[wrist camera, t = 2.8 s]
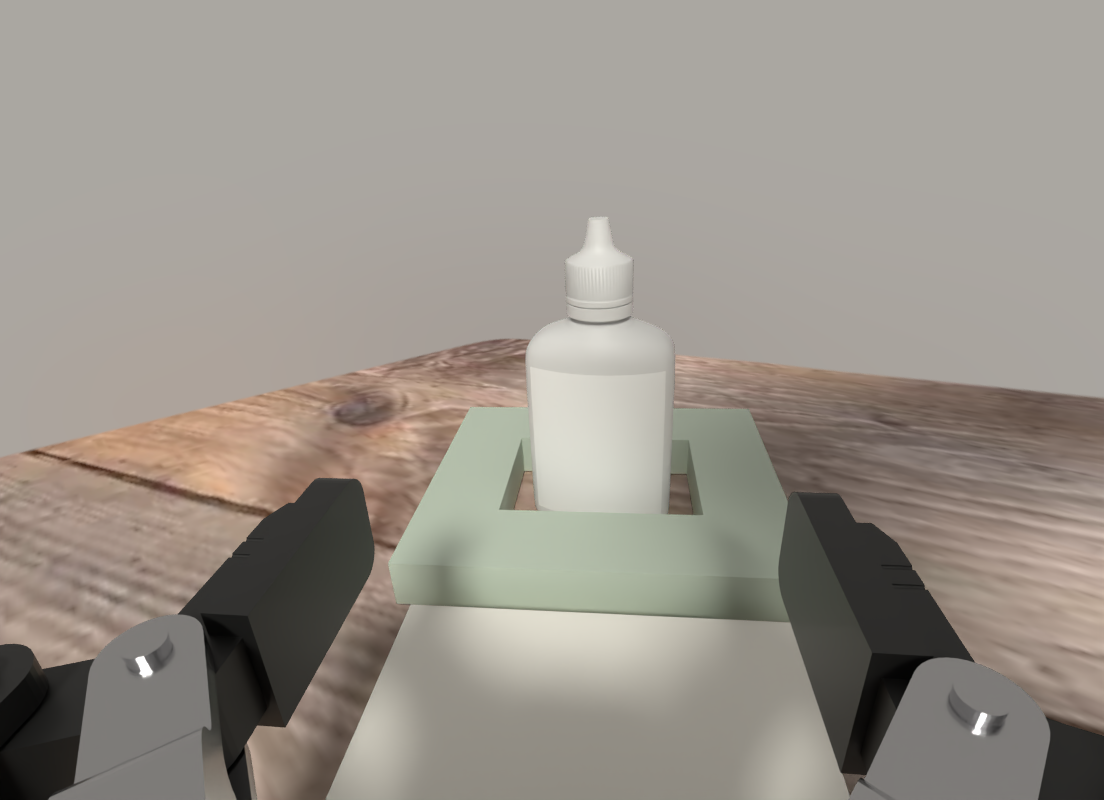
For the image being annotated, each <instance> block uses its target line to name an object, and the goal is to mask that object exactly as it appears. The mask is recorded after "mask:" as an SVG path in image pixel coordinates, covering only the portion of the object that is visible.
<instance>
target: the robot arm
mask: <svg viewBox="0 0 1104 800" xmlns="http://www.w3.org/2000/svg"><path fill="white" fill-rule="evenodd" d="M232 554H233V556H232V558H228V559H227V560H226V561H225V562H224V563H223V565H222V566H221V567H220V568H219V569H218V570H217V571H216V572H215V573H214V575H213V576H212V577H211V578H210V579H209V580H208V581H207V582H206V583H205V585H204V586H203V587H202V588H201V589H200V590H199V591H198V592H197V593H196V595H195V596H194V597H193V598H192V599H191V600H190V601H189V602H188V603H187V605H186V606H185V607H184V608H183V609H182V610H181V611H180V612H179V613H178V615H167V616H162V617H157V618H154V619H151V620H148V621H146V622H143V623H141V624H138V625H136V626H134V627H132V628H130V629H129V630H127V631H125V632H124V633H122V634H121V635H119V636H118V637H116V638H115V639H114V640H112V641H111V642H110V643H109V644H108V645H107V646H106V647H105V648H104V649H103V650H102V651H101V652H100V653H99V654H98V656H97V657H96V658H95V659H92V660H87V661H82V662H76V663H71V664H66V665H61V666H56V667H51V668H46V669H42V668H41V666H40V665H39V663H38V661H37V659H36V657H35V656H34V654H33V652H32V651H31V649H30V648H28V647H27V646H24V645H20V644H4V645H0V800H257V794H256V787H255V780H254V774H253V767H252V760H251V754H250V750H249V747H248V745H247V741H248V739H249V738H250V736H251V734H252V733H253V731H254V729H255V728H256V726H257V725H260V726H273V727H286V725H287V723H288V722H289V720H290V718H291V716H292V714H293V713H294V711H295V709H296V707H297V705H298V704H299V702H300V700H301V698H302V696H303V695H304V693H305V691H306V689H307V687H308V686H309V684H310V682H311V680H312V678H313V677H314V675H315V673H316V671H317V669H318V668H319V666H320V664H321V662H322V660H323V658H324V657H325V655H326V653H327V651H328V649H329V648H330V646H331V644H332V642H333V640H334V639H335V637H336V635H337V633H338V631H339V630H340V628H341V626H342V624H343V622H344V621H345V619H346V617H347V615H348V613H349V612H350V610H351V608H352V606H353V604H354V603H355V601H356V599H357V597H358V595H359V594H360V592H361V590H362V588H363V586H364V585H365V583H366V581H367V579H368V577H369V575H370V573H371V570H372V566H373V561H374V541H373V536H372V531H371V526H370V521H369V516H368V511H367V507H366V502H365V497H364V492H363V488H362V485H361V483H360V482H359V481H358V480H357V479H337V478H317V479H315V480H314V481H313V482H312V483H311V484H310V485H309V487H308V488H307V489H306V490H305V491H304V492H303V494H302V495H301V496H300V497H299V498H298V499H297V501H296V502H295V503H288V504H286V505H284V506H283V507H281V508H280V509H278V510H277V511H275V512H274V513H272V514H270V515H269V516H267V517H266V518H264V519H263V520H262V521H261V522H260V523H259V525H258V526H257V527H256V528H255V529H254V530H253V531H252V532H251V533H250V535H249V536H248V537H247V540H246V542H242V543H241V545H240V546H239V547H238V548H237V549H236V550H235V551H234V552H233V553H232ZM778 577H779V586H780V592H781V596H782V599H783V602H784V605H785V608H786V611H787V614H788V617H789V620H790V623H791V626H792V629H793V632H794V635H795V638H796V641H797V644H798V647H799V650H800V653H801V656H802V659H803V662H804V665H805V668H806V671H807V674H808V677H809V680H810V683H811V686H812V689H813V692H814V695H815V698H816V701H817V704H818V707H819V710H820V713H821V716H822V719H823V722H824V725H825V728H826V731H827V734H828V737H829V740H830V743H831V746H832V749H833V752H834V755H835V758H836V761H837V764H838V767H839V770H840V773H847V774H860V775H866V777H865V779H862V778H860V779H859V781H858V782H857V784H856V785H855V787H854V789H853V791H852V793H851V795H850V797H849V799H848V800H1104V736H1102V735H1098V734H1095V733H1092V732H1089V731H1085V730H1082V729H1079V728H1075V727H1072V726H1069V725H1066V724H1063V723H1060V722H1057V721H1054V720H1051V719H1049V718H1047V717H1045V715H1044V714H1043V712H1042V711H1041V709H1040V708H1039V706H1038V705H1037V704H1036V703H1035V701H1034V700H1033V699H1032V698H1031V697H1030V696H1029V695H1028V694H1027V693H1026V692H1025V691H1024V690H1023V689H1022V688H1020V687H1019V686H1018V685H1016V684H1015V683H1014V682H1012V681H1011V680H1009V679H1008V678H1006V677H1005V676H1003V675H1001V674H1000V673H998V672H996V671H994V670H992V669H990V668H987V667H985V666H983V665H980V664H977V663H975V662H974V660H973V659H972V657H971V656H970V654H969V653H968V651H967V649H966V648H965V646H964V645H963V643H962V642H961V640H960V639H959V637H958V636H957V634H956V633H955V631H954V630H953V628H952V626H951V625H950V623H949V622H948V620H947V619H946V617H945V616H944V614H943V613H942V611H941V610H940V608H939V606H938V605H937V603H936V602H935V600H934V599H933V597H932V596H931V594H930V593H929V591H928V590H925V588H924V583H923V582H922V580H921V579H920V577H919V576H918V574H917V573H916V571H915V570H912V565H911V563H910V562H909V560H908V559H907V557H906V556H905V554H904V553H903V551H902V550H901V548H900V547H899V545H898V544H897V543H896V542H895V541H894V540H893V539H891V538H890V537H889V536H888V535H886V534H885V533H884V532H882V531H881V530H880V529H879V528H877V527H876V526H875V525H873V524H872V523H856V522H855V520H854V518H853V517H852V515H851V513H850V511H849V510H848V508H847V506H846V505H845V503H844V501H843V499H842V498H841V496H840V495H839V494H837V493H804V492H793V493H792V494H791V495H790V497H789V500H788V505H787V512H786V518H785V524H784V531H783V537H782V544H781V550H780V556H779V565H778Z"/></svg>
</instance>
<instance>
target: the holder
mask: <svg viewBox="0 0 1104 800" xmlns="http://www.w3.org/2000/svg"><path fill="white" fill-rule="evenodd" d="M524 471H532V457H531V443H530V428H529V413H528V407H470V409H469V411H468V413H467V415H466V417H465V419H464V420H463V422H462V424H461V426H460V428H459V430H458V432H457V434H456V436H455V438H454V439H453V441H452V443H451V445H450V447H449V449H448V451H447V453H446V455H445V457H444V458H443V460H442V462H441V464H440V466H439V468H438V470H437V472H436V474H435V476H434V477H433V479H432V481H431V483H430V485H429V487H428V489H427V491H426V493H425V494H424V496H423V498H422V500H421V502H420V504H419V506H418V508H417V510H416V512H415V513H414V515H413V517H412V519H411V521H410V523H409V525H408V527H407V529H406V531H405V532H404V534H403V536H402V538H401V540H400V542H399V544H398V546H397V548H396V550H395V551H394V553H393V555H392V557H391V559H390V561H389V563H388V565H389V570H390V575H391V579H392V584H393V589H394V594H395V598H396V603H397V604H414V605H435V606H456V607H477V608H498V609H519V610H540V611H561V612H583V613H604V614H625V615H646V616H667V617H688V618H709V619H730V620H751V621H772V622H790V620H789V617H788V614H787V611H786V608H785V605H784V602H783V599H782V596H781V592H780V586H779V577H778V565H779V556H780V550H781V544H782V537H783V531H784V524H785V518H786V512H787V505H788V501H787V498H786V496H785V493H784V491H783V489H782V486H781V484H780V482H779V479H778V477H777V475H776V472H775V470H774V467H773V465H772V463H771V460H770V458H769V456H768V453H767V451H766V448H765V446H764V444H763V441H762V439H761V437H760V434H759V432H758V429H757V427H756V425H755V422H754V420H753V418H752V415H751V413H750V411H749V409H688V408H674V409H673V432H672V455H671V474H687V479H688V485H689V491H690V496H691V502H692V508H693V514H694V515H676V514H639V513H602V512H566V511H529V510H514V506H515V502H516V499H517V495H518V492H519V488H520V485H521V481H522V478H523V474H524Z"/></svg>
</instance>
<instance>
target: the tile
mask: <svg viewBox="0 0 1104 800" xmlns="http://www.w3.org/2000/svg"><path fill="white" fill-rule="evenodd" d="M849 797H850V795H849V792H848V789H847V786H846V783H845V780H844V777H843V774H842V773H840V770H839V767H838V764H837V761H836V758H835V755H834V752H833V749H832V746H831V743H830V740H829V737H828V734H827V731H826V728H825V725H824V722H823V719H822V716H821V713H820V710H819V707H818V704H817V701H816V698H815V695H814V692H813V689H812V686H811V683H810V680H809V677H808V674H807V671H806V668H805V665H804V662H803V659H802V656H801V653H800V650H799V647H798V644H797V641H796V638H795V635H794V632H793V629H792V626H791V623H790V622H769V621H748V620H727V619H706V618H685V617H664V616H642V615H621V614H600V613H579V612H558V611H537V610H516V609H495V608H474V607H453V606H432V605H410V607H409V609H408V612H407V614H406V616H405V619H404V621H403V623H402V625H401V628H400V630H399V632H398V635H397V637H396V639H395V641H394V644H393V646H392V648H391V651H390V653H389V655H388V657H387V660H386V662H385V664H384V667H383V669H382V671H381V673H380V676H379V678H378V680H377V683H376V685H375V687H374V689H373V692H372V694H371V696H370V699H369V701H368V703H367V706H366V708H365V710H364V712H363V715H362V717H361V719H360V722H359V724H358V726H357V728H356V731H355V733H354V735H353V738H352V740H351V742H350V744H349V747H348V749H347V751H346V754H345V756H344V758H343V760H342V763H341V765H340V767H339V770H338V772H337V774H336V776H335V779H334V781H333V783H332V786H331V788H330V790H329V792H328V795H327V797H326V799H325V800H848V799H849Z"/></svg>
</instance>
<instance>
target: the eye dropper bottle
mask: <svg viewBox="0 0 1104 800" xmlns="http://www.w3.org/2000/svg"><path fill="white" fill-rule="evenodd" d="M633 271H634V260H633V258H631V256H629V255H627V254H625V253H623V252H621V251H619V250H618V249H617V248H616V247H615V245H614V243H613V238H612V233H611V228H610V222H609V218H608V217H592V218H589V219H588V224H587V230H586V237H585V242H584V246H583V247H582V249H581V250H580V251H579V252H578V253H576V254H574V255H573V256H571V257H569V258H568V259H567V260H566V261H565V284H566V312H567V315H568V316H569V318H565V319H562V320H559V321H556V322H554V323H551V324H549V325H547V326H545V327H543V328H542V329H540V330H539V331H538V332H537V333H536V334H535V335H534V337H533V338H532V339H531V341H530V343H529V345H528V347H527V351H526V381H527V398H528V413H529V428H530V443H531V457H532V471H533V485H534V498H535V506H536V509H537V510H538V511H566V512H602V513H639V514H668V510H669V498H670V477H671V455H672V432H673V409H674V385H675V346H674V342H673V340H672V338H671V337H670V336H669V334H667V333H666V332H665V331H664V330H663V329H661V328H659V327H657V326H655V325H653V324H650V323H648V322H645V321H642V320H640V319H637V318H634V317H631V316H630V315H631V314H632V313H633Z"/></svg>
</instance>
